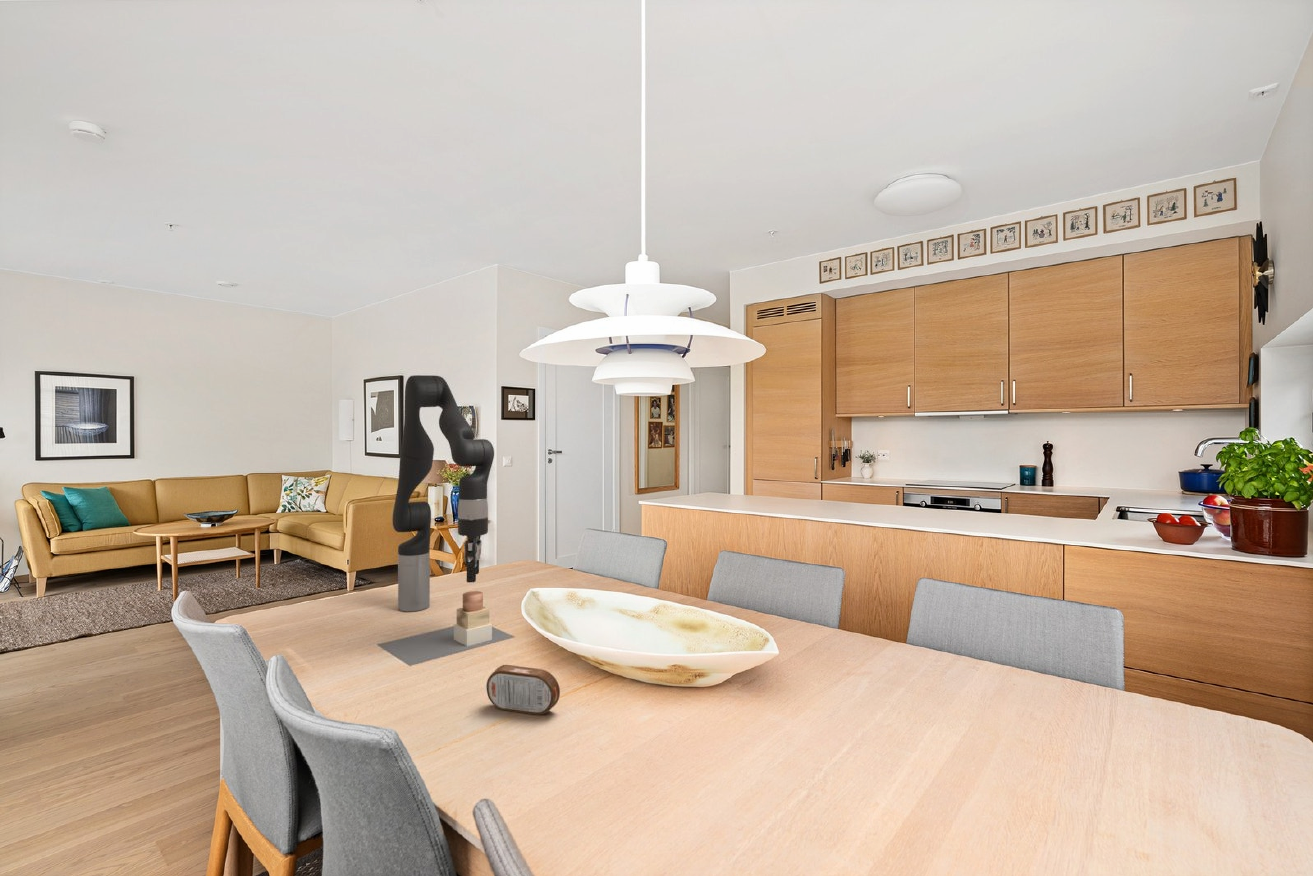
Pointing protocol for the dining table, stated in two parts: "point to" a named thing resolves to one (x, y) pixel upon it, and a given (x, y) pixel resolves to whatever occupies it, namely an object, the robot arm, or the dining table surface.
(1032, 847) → the dining table surface
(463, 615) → the tower top block
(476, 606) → the terracotta cylinder
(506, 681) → the tin
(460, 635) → the tower base block
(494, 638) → the mat
